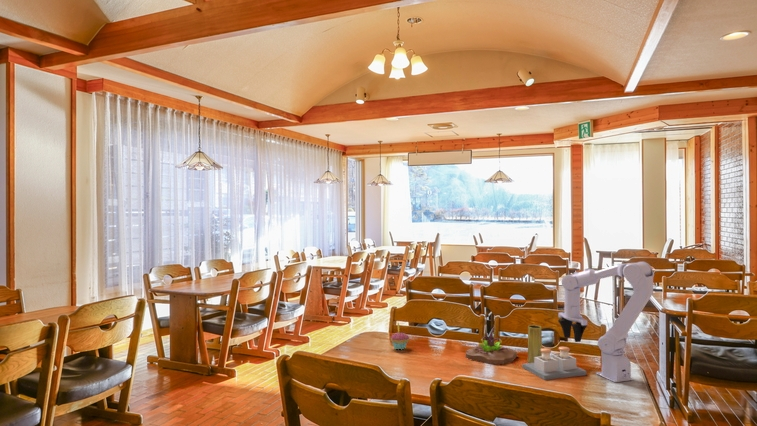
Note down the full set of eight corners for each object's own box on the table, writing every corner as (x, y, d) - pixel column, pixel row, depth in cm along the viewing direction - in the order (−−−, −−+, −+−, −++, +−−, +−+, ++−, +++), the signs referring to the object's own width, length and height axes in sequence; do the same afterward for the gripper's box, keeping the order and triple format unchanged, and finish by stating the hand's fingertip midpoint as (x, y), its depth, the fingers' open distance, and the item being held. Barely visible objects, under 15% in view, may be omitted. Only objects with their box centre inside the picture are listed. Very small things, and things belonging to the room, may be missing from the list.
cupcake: (387, 347, 208) (387, 321, 208) (403, 345, 212) (403, 319, 212) (396, 352, 200) (395, 325, 200) (413, 350, 204) (412, 323, 204)
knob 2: (571, 361, 174) (571, 348, 174) (563, 362, 173) (563, 349, 173) (565, 358, 177) (565, 346, 177) (556, 359, 176) (556, 347, 176)
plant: (524, 356, 195) (524, 330, 195) (502, 368, 180) (502, 339, 180) (482, 347, 208) (481, 323, 208) (458, 357, 193) (458, 331, 193)
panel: (586, 375, 170) (586, 360, 170) (544, 379, 166) (544, 364, 166) (562, 363, 184) (561, 349, 184) (522, 367, 179) (522, 353, 179)
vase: (525, 362, 185) (525, 327, 185) (528, 358, 190) (528, 324, 191) (541, 364, 182) (541, 329, 182) (544, 360, 188) (543, 325, 188)
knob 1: (553, 363, 171) (553, 350, 171) (544, 364, 170) (544, 351, 170) (547, 360, 175) (547, 347, 175) (538, 361, 174) (538, 348, 174)
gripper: (593, 308, 175) (594, 343, 175) (568, 301, 189) (568, 334, 189) (578, 309, 173) (578, 345, 173) (553, 302, 187) (554, 335, 187)
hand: (572, 339), depth 181 cm, fingers open, 6 cm apart
